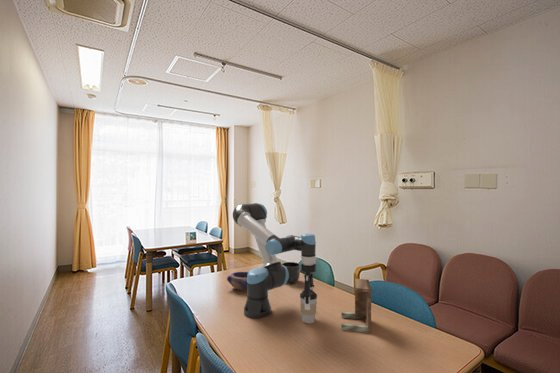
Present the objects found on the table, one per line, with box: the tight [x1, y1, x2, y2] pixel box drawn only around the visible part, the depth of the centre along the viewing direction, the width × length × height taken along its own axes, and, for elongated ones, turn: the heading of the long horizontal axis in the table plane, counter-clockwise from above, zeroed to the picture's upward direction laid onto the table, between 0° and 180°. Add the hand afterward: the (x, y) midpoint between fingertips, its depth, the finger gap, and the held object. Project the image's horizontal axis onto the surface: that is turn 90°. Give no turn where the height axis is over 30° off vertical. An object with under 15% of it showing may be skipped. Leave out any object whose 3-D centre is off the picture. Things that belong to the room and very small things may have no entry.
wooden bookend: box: [340, 278, 372, 334], centre depth 143 cm, size 14×14×21 cm
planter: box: [281, 261, 301, 285], centre depth 206 cm, size 14×14×13 cm
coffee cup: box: [299, 290, 318, 324], centre depth 147 cm, size 9×9×15 cm
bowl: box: [226, 271, 249, 291], centre depth 193 cm, size 18×18×10 cm
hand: (309, 304), depth 147 cm, fingers open, 13 cm apart
